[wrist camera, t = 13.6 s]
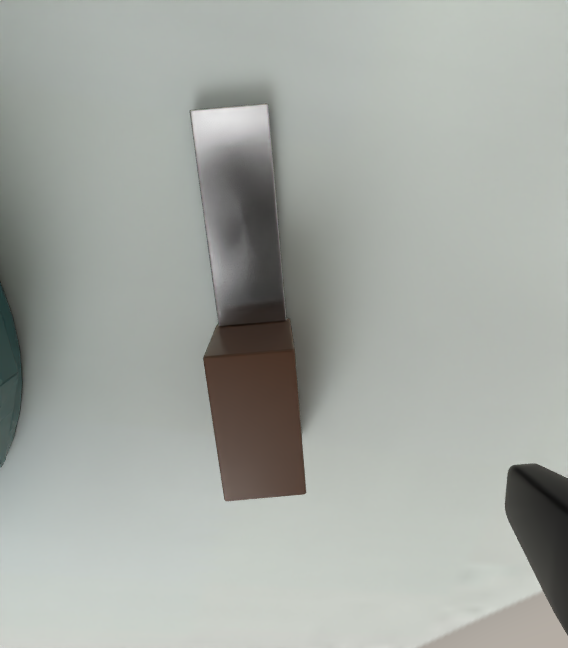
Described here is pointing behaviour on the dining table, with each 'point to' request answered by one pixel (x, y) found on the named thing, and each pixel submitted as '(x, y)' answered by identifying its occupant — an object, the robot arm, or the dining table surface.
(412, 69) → the dining table surface
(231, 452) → the knife
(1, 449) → the pot
